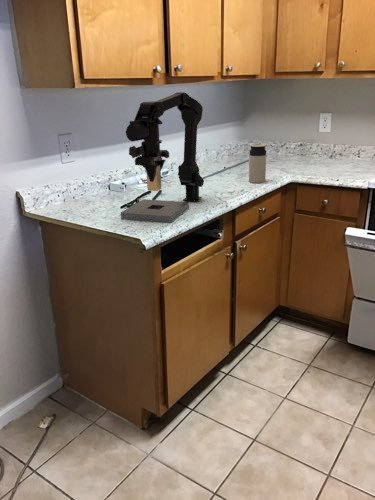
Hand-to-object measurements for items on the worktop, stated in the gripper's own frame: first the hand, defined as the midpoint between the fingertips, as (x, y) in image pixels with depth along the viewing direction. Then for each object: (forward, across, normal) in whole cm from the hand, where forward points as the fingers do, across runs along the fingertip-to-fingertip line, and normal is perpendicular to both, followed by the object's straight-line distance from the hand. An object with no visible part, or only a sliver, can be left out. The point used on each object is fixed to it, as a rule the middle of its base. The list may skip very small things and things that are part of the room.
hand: (154, 180), depth 167 cm
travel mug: (+13, -63, +27) cm, 70 cm away
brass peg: (+4, 0, 0) cm, 4 cm away
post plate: (+13, 0, 0) cm, 13 cm away
